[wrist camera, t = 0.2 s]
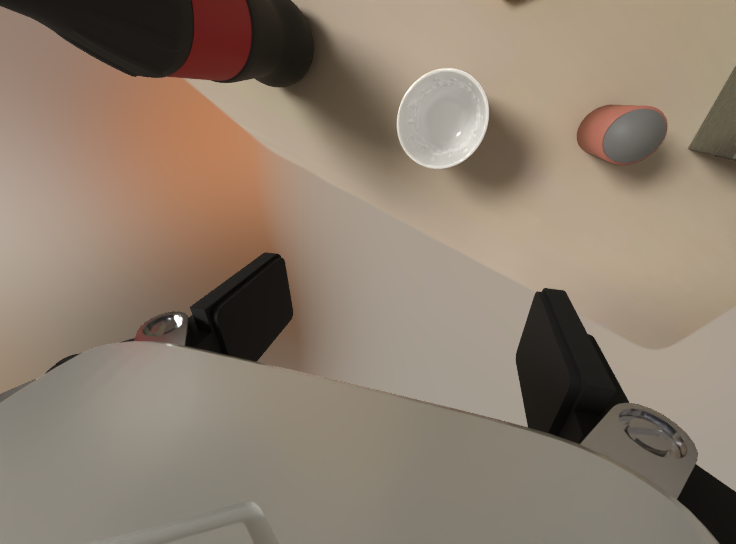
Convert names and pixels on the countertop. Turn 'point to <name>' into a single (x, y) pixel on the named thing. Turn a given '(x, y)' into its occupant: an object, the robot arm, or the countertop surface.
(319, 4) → the countertop surface
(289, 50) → the cola bottle
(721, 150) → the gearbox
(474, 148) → the white cup
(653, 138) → the oil can
